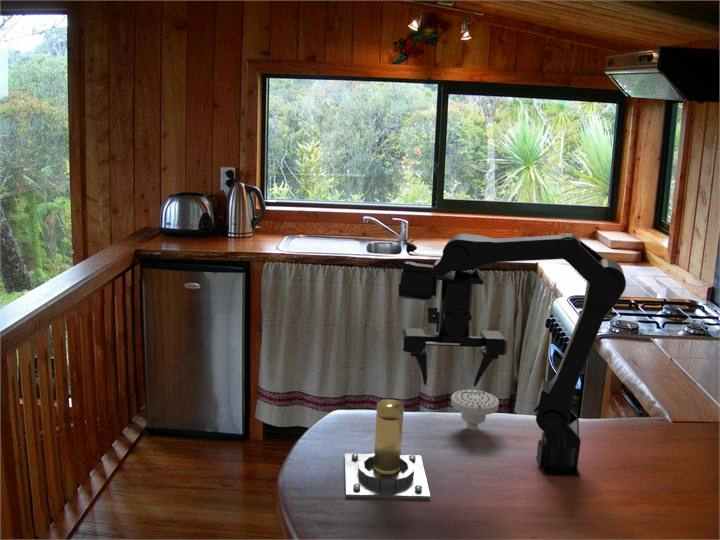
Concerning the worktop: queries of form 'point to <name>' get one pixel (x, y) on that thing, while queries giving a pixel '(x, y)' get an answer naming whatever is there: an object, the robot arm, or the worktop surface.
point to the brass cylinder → (388, 438)
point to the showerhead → (474, 406)
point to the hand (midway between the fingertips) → (449, 384)
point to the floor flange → (385, 479)
